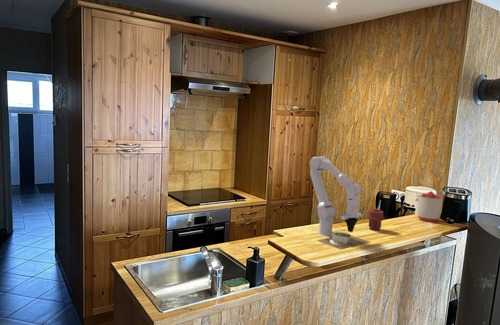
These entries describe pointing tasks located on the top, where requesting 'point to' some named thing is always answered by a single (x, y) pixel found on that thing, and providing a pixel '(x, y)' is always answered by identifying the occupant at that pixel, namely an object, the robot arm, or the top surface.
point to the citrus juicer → (429, 207)
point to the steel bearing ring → (341, 238)
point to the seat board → (353, 242)
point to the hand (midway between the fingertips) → (350, 231)
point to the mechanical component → (375, 219)
